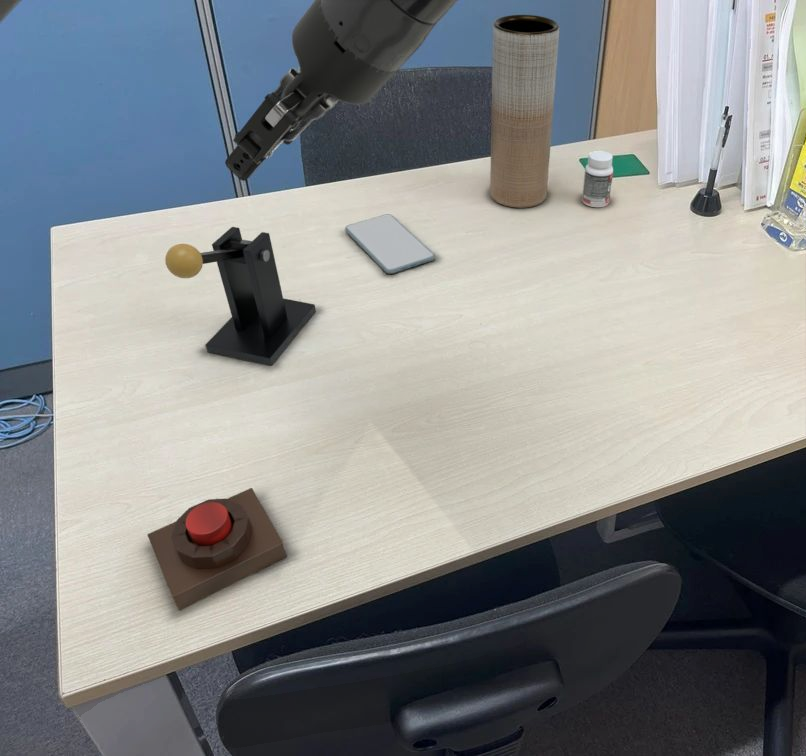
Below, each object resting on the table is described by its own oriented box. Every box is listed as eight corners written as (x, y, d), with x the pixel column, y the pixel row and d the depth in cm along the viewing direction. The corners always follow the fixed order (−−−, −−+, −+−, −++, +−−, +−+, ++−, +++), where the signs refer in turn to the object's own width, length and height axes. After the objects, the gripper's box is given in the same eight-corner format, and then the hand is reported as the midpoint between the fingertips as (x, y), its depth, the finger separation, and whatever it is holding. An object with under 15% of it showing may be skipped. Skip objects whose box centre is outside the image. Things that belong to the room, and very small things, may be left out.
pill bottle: (611, 207, 120) (618, 161, 115) (584, 208, 120) (590, 161, 114) (605, 194, 124) (611, 149, 118) (579, 195, 124) (584, 149, 118)
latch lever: (188, 283, 72) (188, 248, 71) (157, 277, 73) (157, 242, 72) (263, 267, 86) (264, 238, 85) (237, 263, 86) (237, 233, 85)
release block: (179, 611, 62) (166, 586, 59) (154, 547, 67) (140, 522, 64) (287, 556, 67) (279, 531, 64) (256, 501, 71) (247, 475, 69)
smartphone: (387, 271, 102) (343, 225, 111) (388, 277, 103) (343, 231, 112) (437, 255, 106) (390, 212, 115) (437, 260, 106) (390, 217, 115)
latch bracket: (271, 366, 87) (248, 271, 78) (207, 352, 89) (176, 258, 79) (316, 311, 96) (299, 220, 87) (256, 299, 97) (234, 209, 88)
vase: (547, 184, 126) (560, 16, 108) (545, 210, 119) (558, 35, 101) (493, 180, 127) (496, 12, 108) (487, 206, 119) (489, 31, 101)
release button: (197, 552, 62) (192, 540, 61) (185, 525, 65) (179, 513, 63) (237, 533, 64) (233, 522, 63) (224, 507, 66) (219, 495, 65)
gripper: (367, -37, 57) (266, 92, 67) (281, 8, 47) (176, 153, 56) (432, 39, 60) (325, 153, 69) (364, 98, 49) (250, 222, 59)
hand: (258, 152), depth 63 cm, fingers open, 7 cm apart
